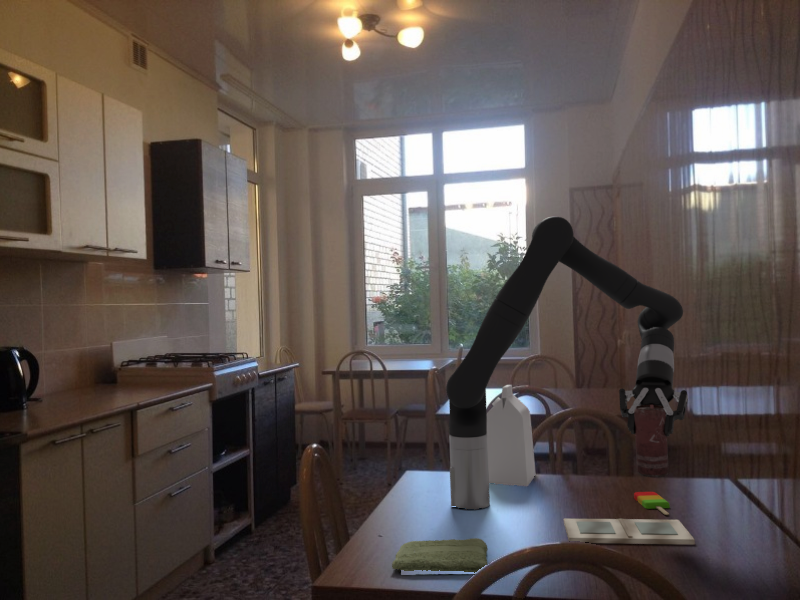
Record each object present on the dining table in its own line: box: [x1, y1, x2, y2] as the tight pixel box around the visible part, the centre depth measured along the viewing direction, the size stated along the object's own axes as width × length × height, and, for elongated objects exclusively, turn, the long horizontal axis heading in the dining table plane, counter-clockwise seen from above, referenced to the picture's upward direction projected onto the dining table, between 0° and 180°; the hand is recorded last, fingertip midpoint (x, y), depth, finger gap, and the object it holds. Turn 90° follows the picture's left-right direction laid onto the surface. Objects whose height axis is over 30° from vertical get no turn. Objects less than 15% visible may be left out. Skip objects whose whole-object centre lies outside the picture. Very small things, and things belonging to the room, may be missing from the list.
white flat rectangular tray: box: [563, 518, 696, 545], centre depth 135 cm, size 24×12×1 cm, turn 81°
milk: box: [487, 384, 537, 487], centre depth 182 cm, size 12×12×26 cm
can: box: [634, 405, 669, 479], centre depth 135 cm, size 6×6×14 cm
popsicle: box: [633, 491, 671, 516], centre depth 153 cm, size 6×15×2 cm, turn 179°
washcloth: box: [391, 537, 489, 573], centre depth 124 cm, size 13×18×3 cm
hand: (649, 432), depth 134 cm, fingers closed on can, 6 cm apart
